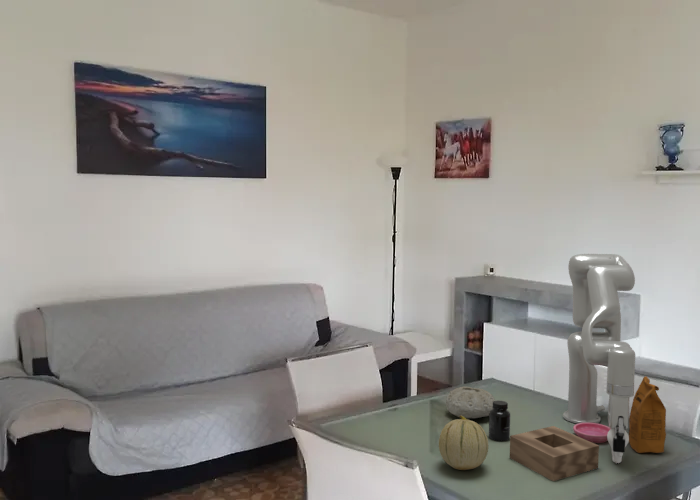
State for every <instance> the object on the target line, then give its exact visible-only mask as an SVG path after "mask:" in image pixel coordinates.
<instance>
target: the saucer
mask: <svg viewBox="0 0 700 500" xmlns="http://www.w3.org/2000/svg"><path fill="white" fill-rule="evenodd" d="M610 429H611V428H610V427H609V425H605V424H602V423H579V424H577V423H575V424H574V425H573V428H572V430H573V432H574V435H576V436H578V437H580V438H583V439H585V440H587V441H590V442H592V443H594V444H596V443H597V444H600V443H606V442H607V441H608V440H607V434H608V432H609V430H610Z"/></svg>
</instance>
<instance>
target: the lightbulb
mask: <svg viewBox="0 0 700 500" xmlns="http://www.w3.org/2000/svg"><path fill="white" fill-rule="evenodd" d="M616 428H618V427H616ZM617 432H618V430H617ZM613 438H614V428H612V429H610V430H609V432H608V434H607V440H608V445H609V446H610V450H611V454H612V456H611V457H612V462H614V463H615V464H617V463H618V464H619V463H621V462H623V461H622V460H623V455H624V453H622V452H614V451H613ZM628 444H629V432H627V430H625V448H626V447H627V445H628Z"/></svg>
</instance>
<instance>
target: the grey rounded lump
mask: <svg viewBox="0 0 700 500" xmlns="http://www.w3.org/2000/svg"><path fill="white" fill-rule="evenodd" d="M493 401H496V399H495V397H494V396H493V394H492V393H490V392H489V391H487V390H485V389H483V388H479V387H477V388H476V387H471V386H464V385H463V386H460V387H457V388H456V387H455V388H454V389H453V390H450V391H449V393H448V394H447V396H446V401H445V406H446V408H447V410H448V412H449V413H450V414H452V415H453V416H456V417H458V418H460V417H459V416H460V415H462V416H464V417H465V418H466V419H467V420H469V419H478V418H479V419H480V418H482V417H483V418H484V417H489V412H490V411H491V410H492V409H493V408H492V406H493Z"/></svg>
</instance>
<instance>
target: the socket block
mask: <svg viewBox="0 0 700 500" xmlns="http://www.w3.org/2000/svg"><path fill="white" fill-rule="evenodd" d="M599 452H600V445H598V443H597V444H596V443H593V442H590V441H587V440H585V439H583V438H580V437H578V436H577V435H576V434H573V433H572V432H568V430H567V431H566V430H564V429H562V428H560V427H557V426H555V425H551V426H548V427H543V428H539V429H533V430H530V431H525V432H522V433H518V434H517V433H516V434H512V435H510V438H509V459H511V460H513V461H514V462H516V463H518V464H520V465H522V466H523V467H526V468H527V469H530V470H531V471H533V472H535V473H537V474H538V475H541V476H542V477H545V478H546V479H548V480H550V481H552V482H556V481H558V480H562V479H565V478H566V479H567V478H569V477H573V476H576V474H577V475H580V473H581V474H584V473H586V472H587V471H588V472H590V470H591V471H594V470H593V469H595V470H597V469H596V468H598V469H599V457H600V456H599ZM583 472H584V473H583ZM588 472H587V473H588Z"/></svg>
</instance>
